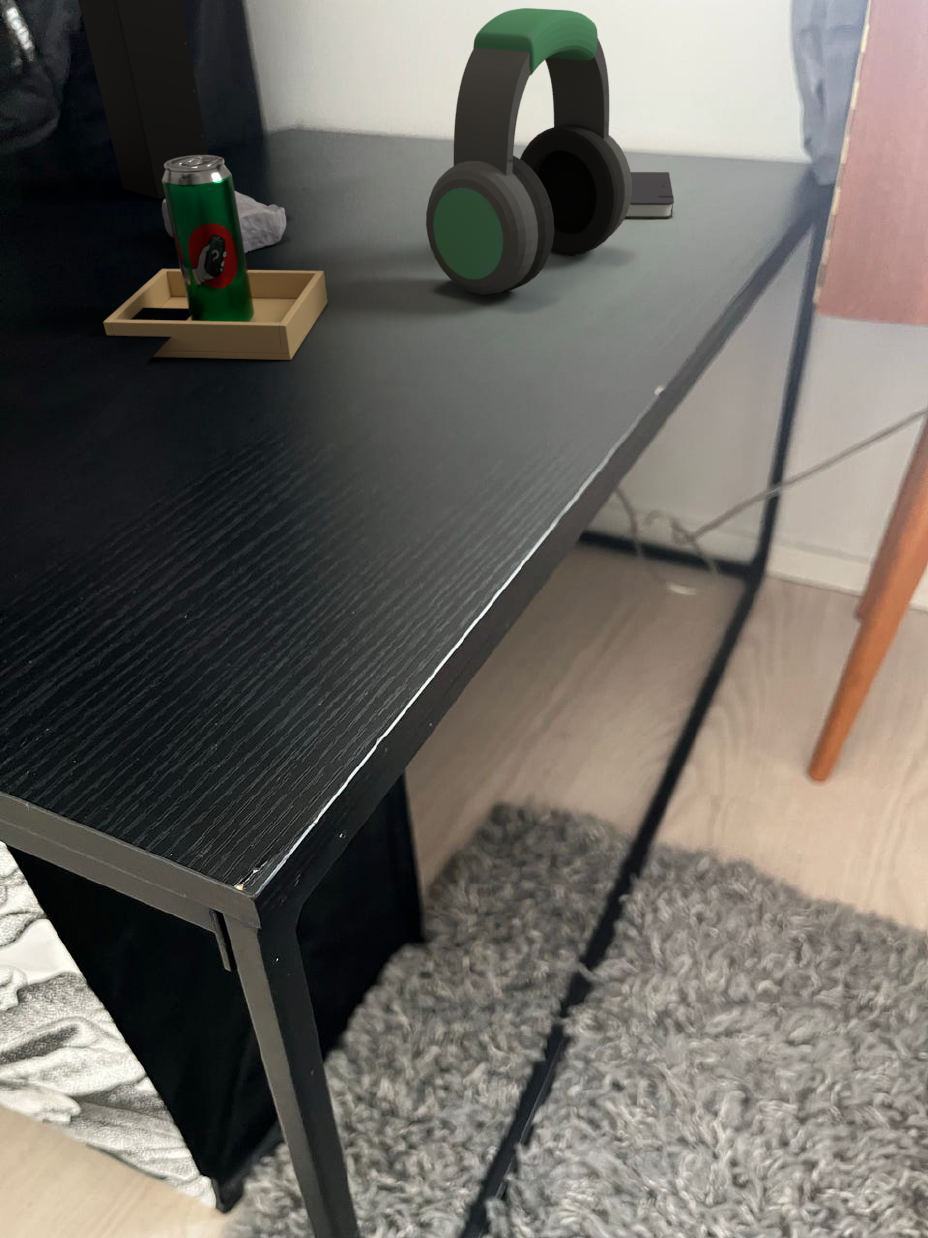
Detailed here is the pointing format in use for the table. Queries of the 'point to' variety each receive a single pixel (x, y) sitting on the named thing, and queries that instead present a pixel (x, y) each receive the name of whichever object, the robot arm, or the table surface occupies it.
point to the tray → (271, 334)
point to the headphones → (528, 156)
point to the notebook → (651, 195)
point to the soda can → (208, 238)
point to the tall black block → (145, 86)
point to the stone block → (251, 222)
